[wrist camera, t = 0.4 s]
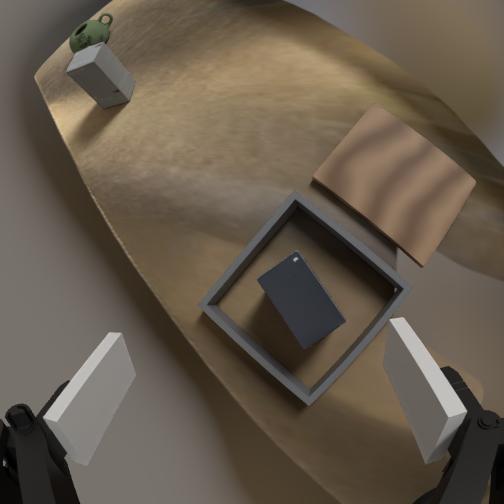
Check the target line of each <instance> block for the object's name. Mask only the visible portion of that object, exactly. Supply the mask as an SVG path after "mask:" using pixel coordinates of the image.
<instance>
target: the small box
mask: <svg viewBox="0 0 504 504" xmlns="http://www.w3.org/2000/svg"><path fill="white" fill-rule="evenodd" d="M257 281H258V282H259V284H260V285H261V287H262V288H263V289H264V291H265V292H266V294H267V295H268V297H269V298H270V300H271V301H272V303H273V304H274V306H275V307H276V309H277V310H278V312H279V313H280V315H281V316H282V317H283V319H284V320H285V322H286V323H287V325H288V326H289V328H290V329H291V331H292V332H293V334H294V335H295V337H296V338H297V340H298V341H299V343H300V344H301V346H302V347H303V348H304V349H306V348H308V347H310V346H311V345H313V344H314V343H316V342H317V341H319V340H321V339H322V338H323V337H325V336H326V335H328V334H329V333H331V332H332V331H334V330H335V329H337V328H338V327H339V326H341V325H342V324H344V323H345V322H346V319H345V318H344V316H343V315H342V313H341V312H340V310H339V309H338V307H337V306H336V304H335V303H334V301H333V300H332V298H331V297H330V295H329V294H328V292H327V291H326V289H325V288H324V286H323V285H322V283H321V282H320V280H319V279H318V277H317V276H316V275H315V273H314V272H313V271H312V269H311V268H310V267H309V265H308V264H307V262H306V261H305V259H304V258H303V257H302V256H301V254H300V253H299V252H298V251H294V252H293V253H292V254H290V255H289V256H288V257H286V258H285V259H283V260H282V261H281V262H279V263H278V264H277V265H275V266H274V267H272V268H271V269H269V270H268V271H267V272H265V273H264V274H262V275H261V276H260V277H258V278H257Z"/></svg>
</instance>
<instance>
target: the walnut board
mask: <svg viewBox="0 0 504 504" xmlns="http://www.w3.org/2000/svg"><path fill="white" fill-rule="evenodd" d="M312 178H313V180H314V181H315V182H317V183H318V184H320V185H321V186H322V187H324V188H325V189H326V190H328V191H329V192H330V193H332V194H333V195H334V196H335V197H337V198H338V199H339V200H341V201H342V202H343V203H345V204H346V205H347V206H348V207H350V208H351V209H352V210H353V211H355V212H356V213H357V214H358V215H360V216H361V217H362V218H363V219H365V220H366V221H367V222H368V223H370V224H371V225H372V226H373V227H375V228H376V229H377V230H378V231H379V232H381V233H382V234H383V235H384V236H385V237H387V238H388V239H389V240H390V241H391V242H392V243H394V244H395V245H396V246H397V247H398V248H399V249H401V250H402V251H403V252H404V253H405V254H406V255H407V256H409V257H410V258H411V259H412V260H413V261H414V262H415V263H417V264H418V265H419V266H420V267H421V268H422V267H424V266H425V265H426V263H427V262H428V260H429V259H430V257H431V256H432V254H433V253H434V252H435V250H436V249H437V247H438V245H439V244H440V242H441V241H442V239H443V238H444V236H445V235H446V233H447V232H448V230H449V228H450V227H451V225H452V223H453V222H454V220H455V219H456V217H457V215H458V214H459V212H460V210H461V209H462V207H463V205H464V203H465V202H466V200H467V198H468V196H469V195H470V193H471V191H472V189H473V187H474V185H475V184H476V181H475V180H474V179H473V178H472V177H471V176H470V175H469V174H468V173H466V172H465V171H464V170H463V169H462V168H461V167H460V166H458V165H457V164H456V163H455V162H454V161H453V160H451V159H450V158H449V157H448V156H447V155H445V154H444V153H443V152H442V151H440V150H439V149H438V148H437V147H435V146H434V145H433V144H432V143H430V142H429V141H428V140H426V139H425V138H424V137H422V136H421V135H420V134H418V133H417V132H416V131H414V130H413V129H412V128H410V127H409V126H407V125H406V124H405V123H403V122H402V121H400V120H399V119H397V118H396V117H394V116H393V115H392V114H390V113H389V112H387V111H386V110H384V109H382V108H381V107H379V106H378V105H376V104H375V103H374V104H373V105H372V106H371V107H370V108H369V110H368V111H367V112H366V113H365V114H364V115H363V117H362V118H361V119H360V120H359V121H358V122H357V124H356V125H355V126H354V127H353V128H352V130H351V131H350V132H349V133H348V134H347V135H346V137H345V138H344V139H343V140H342V141H341V143H340V144H339V145H338V146H337V147H336V148H335V150H334V151H333V152H332V153H331V154H330V156H329V157H328V158H327V159H326V160H325V161H324V163H323V164H322V165H321V166H320V167H319V169H318V170H317V171H316V172H315V173H314V174H313V176H312Z"/></svg>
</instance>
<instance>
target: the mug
mask: <svg viewBox="0 0 504 504" xmlns="http://www.w3.org/2000/svg"><path fill="white" fill-rule="evenodd" d="M105 15H106V16H109V17H110V21H109V22H108V23H106V24H103V23H102V22H101V20H102V17H103V16H105ZM112 20H113V17H112V15H110V14H109V13H103V14H102V15H101V16H100V17H99V19H98V20H89V21H86V22H84V23H83V24H81V25H80V26H79V27H78V28H77V29H76V30H75V31H74V32H73V33H72V35H71V37H70V42H69V44H70V48H71V50H72V52H73V53H74V54H75V53H76V52H79V51H81V50H83V49H85V48H87V47H88V46H93V45H96V44H98V43H101V42H104V43H106V41H107V39H108V37H109V34H110V32H109V26H110V25H111V23H112Z"/></svg>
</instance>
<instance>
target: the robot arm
mask: <svg viewBox="0 0 504 504" xmlns="http://www.w3.org/2000/svg"><path fill="white" fill-rule="evenodd" d="M383 367H384V369H385V371H386V373H387V375H388V377H389V380H390V382H391V384H392V386H393V388H394V391H395V393H396V395H397V397H398V399H399V402H400V404H401V406H402V408H403V411H404V413H405V415H406V418H407V420H408V422H409V425H410V427H411V429H412V432H413V434H414V437H415V439H416V441H417V444H418V446H419V449H420V451H421V454H422V456H423V459H424V461H425V464H428V463H431V462H434V461H437V460H441V459H443V457H444V456H445V454H446V452H447V450H448V451H449V453H450V455H451V458H450V460H449V461H448V463H447V465H446V466H445V468H444V469H443V471H442V472H444V473H443V475H442V478H441V480H440V482H439V484H438V486H437V488H435V489H433V490H431V491H429V492H428V493H426V494H425V495H423V496H422V497H421V498H419V499H418V500H417V501H416V502H415V503H414V504H481V501H482V499H483V496H484V493H485V490H486V487H487V484H488V480H489V477H490V474H491V483H490V498H489V504H504V418H500V417H499V416H498V415H497V414H496V413H495V412H492V411H489V410H483V408H482V407H481V405H480V404H479V402H478V401H477V399H476V398H475V396H474V395H473V393H472V392H471V390H470V389H469V388H468V387H467V385H466V383H465V382H463V379H462V378H461V376H460V375H459V373H458V372H457V371H455V370H454V369H452V368H451V367H449V366H447V367H443V368H439V367H438V365H437V364H436V362H435V361H434V359H433V358H432V357H431V355H430V354H429V352H428V351H427V349H426V348H425V347H424V345H423V344H422V342H421V341H420V339H419V338H418V337H417V336H416V334H415V333H414V331H413V330H412V329H411V327H410V326H409V324H408V323H407V322H406V320H405V319H404V318H403V317H402V318H395V319H389V325H388V333H387V340H386V347H385V354H384V360H383ZM135 376H136V374H135V371H134V368H133V365H132V362H131V359H130V357H129V354H128V351H127V348H126V345H125V341H124V339H123V335H122V333H109V334H108V335H107V336H106V337H105V339H104V340H103V341H102V342H101V344H100V345H99V346H98V347H97V348H96V350H95V351H94V352H93V353H92V355H91V356H90V357H89V358H88V360H87V361H86V362H85V363H84V365H83V366H82V367H81V368H80V370H79V371H78V372H77V373H76V375H75V376H74V377H73V379H72V380H71V381H66V382H65V383H64V384H62V385H61V386H60V387H59V388H58V389H57V390H56V392H55V393H54V395H52V397H51V398H50V400H49V401H48V402H47V403H46V405H45V406H44V407H43V408H42V410H41V411H40V412H39V414H38V415H37V416H36V417H35V416H34V414H33V413H32V411H31V409H30V408H29V406H27V405H26V404H17V405H14V406H12V407H11V408H10V409H8V411H7V413H6V415H5V418H6V420H7V421H8V423H9V424H10V426H11V427H9V426H6V425H5V424H4V422H3V421H2V420H1V419H0V504H80V502H79V499H78V496H77V493H76V490H75V487H74V484H73V481H72V478H71V474H70V471H69V468H68V464H67V462H66V460H65V459H64V457H65V455H66V454H68V455H69V456H70V458H71V459H72V460H73V461H74V462H77V463H80V464H84V465H88V463H89V461H90V459H91V457H92V455H93V453H94V451H95V449H96V447H97V445H98V444H99V442H100V440H101V438H102V436H103V434H104V432H105V430H106V429H107V427H108V425H109V423H110V421H111V419H112V417H113V416H114V414H115V412H116V410H117V408H118V406H119V405H120V403H121V401H122V399H123V397H124V396H125V394H126V392H127V390H128V388H129V386H130V385H131V383H132V381H133V379H134V378H135ZM3 460H4V461H5V462H6V464H5V467H4V466H3Z"/></svg>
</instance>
